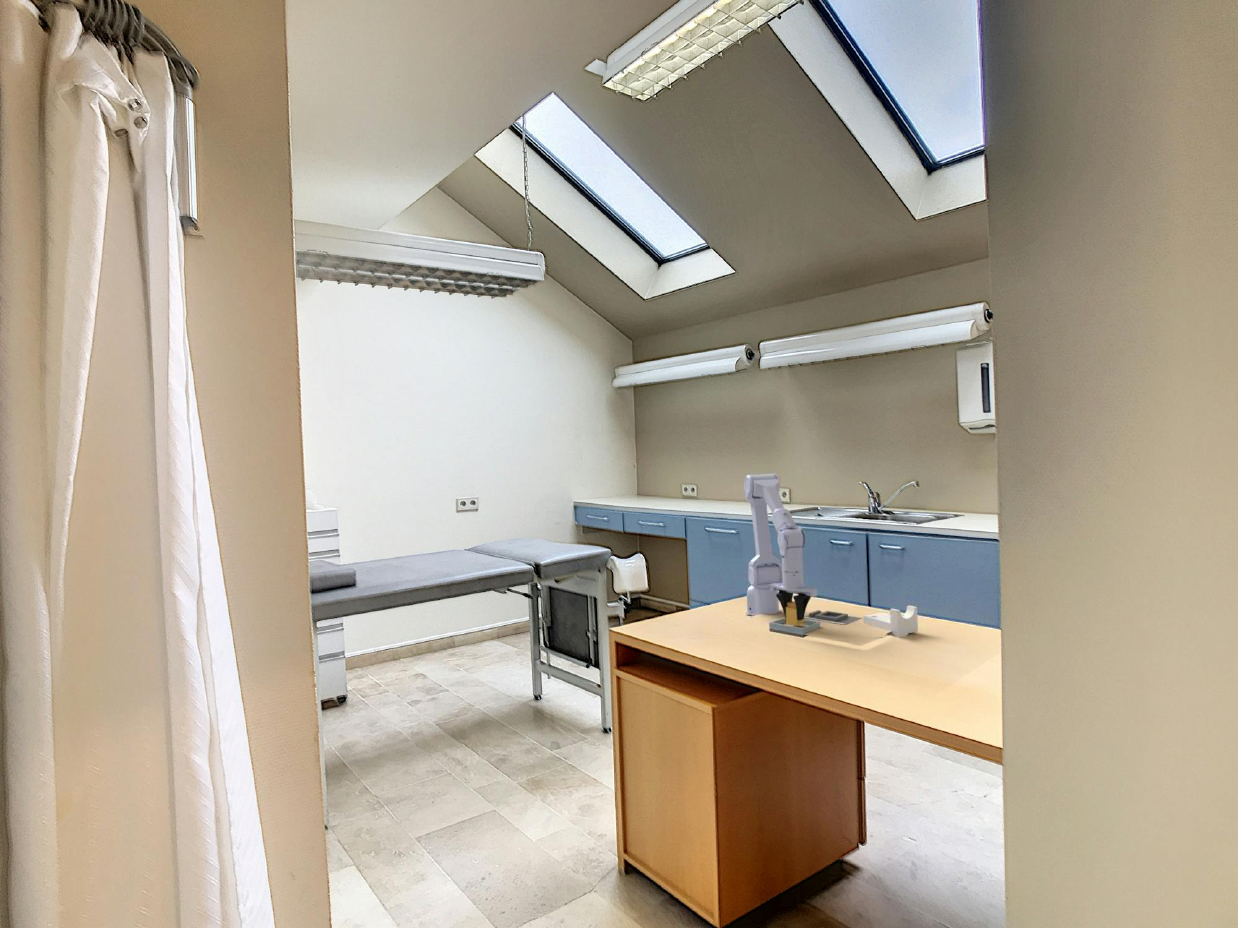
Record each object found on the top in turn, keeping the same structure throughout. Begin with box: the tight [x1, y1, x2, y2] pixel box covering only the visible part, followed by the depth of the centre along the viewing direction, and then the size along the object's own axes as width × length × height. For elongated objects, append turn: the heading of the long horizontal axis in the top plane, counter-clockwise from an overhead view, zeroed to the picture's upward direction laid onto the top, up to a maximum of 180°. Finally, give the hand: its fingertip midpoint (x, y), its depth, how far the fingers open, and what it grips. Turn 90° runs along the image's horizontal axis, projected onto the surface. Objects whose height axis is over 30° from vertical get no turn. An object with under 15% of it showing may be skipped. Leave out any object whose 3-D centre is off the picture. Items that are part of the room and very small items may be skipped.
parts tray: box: [768, 616, 821, 638], centre depth 202 cm, size 11×9×2 cm
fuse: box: [785, 600, 805, 627], centre depth 202 cm, size 4×4×6 cm
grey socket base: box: [804, 609, 862, 626], centre depth 210 cm, size 14×10×2 cm
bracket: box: [863, 605, 919, 638], centre depth 198 cm, size 13×7×8 cm, turn 23°
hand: (794, 618), depth 202 cm, fingers closed on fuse, 4 cm apart
